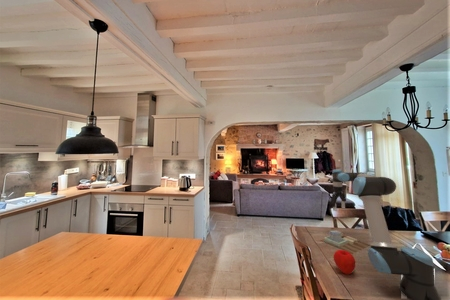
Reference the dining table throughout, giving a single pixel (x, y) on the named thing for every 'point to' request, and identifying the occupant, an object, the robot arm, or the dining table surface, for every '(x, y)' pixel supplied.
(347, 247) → the bench board
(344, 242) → the tray
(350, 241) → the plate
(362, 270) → the dining table surface
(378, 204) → the robot arm
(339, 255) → the apple
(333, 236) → the medicine box
